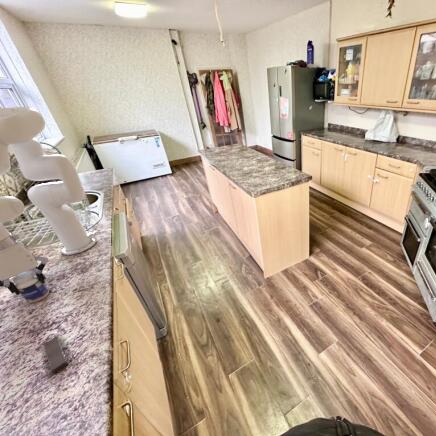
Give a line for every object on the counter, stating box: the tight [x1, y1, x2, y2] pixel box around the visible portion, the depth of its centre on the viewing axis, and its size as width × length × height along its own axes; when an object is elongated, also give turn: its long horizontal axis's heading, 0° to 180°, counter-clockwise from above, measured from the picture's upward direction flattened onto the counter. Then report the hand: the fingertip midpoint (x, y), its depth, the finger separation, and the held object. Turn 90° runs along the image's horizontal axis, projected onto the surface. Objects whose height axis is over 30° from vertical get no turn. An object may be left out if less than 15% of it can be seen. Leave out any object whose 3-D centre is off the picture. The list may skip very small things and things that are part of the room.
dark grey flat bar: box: [43, 335, 69, 374], centre depth 63 cm, size 12×3×1 cm, turn 51°
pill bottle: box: [12, 271, 50, 303], centre depth 81 cm, size 6×6×10 cm
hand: (30, 286), depth 81 cm, fingers closed on pill bottle, 5 cm apart
